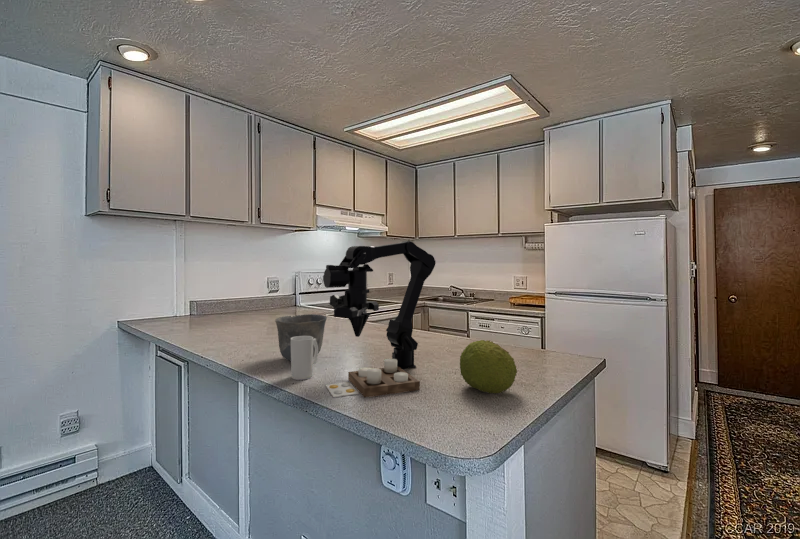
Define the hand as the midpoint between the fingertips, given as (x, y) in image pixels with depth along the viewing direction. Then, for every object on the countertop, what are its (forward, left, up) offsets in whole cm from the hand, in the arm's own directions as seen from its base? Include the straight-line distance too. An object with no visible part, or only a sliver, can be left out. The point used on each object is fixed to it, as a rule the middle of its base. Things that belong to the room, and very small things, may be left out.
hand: (357, 336), depth 122 cm
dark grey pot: (+13, -25, -12) cm, 31 cm away
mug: (+15, -5, -12) cm, 20 cm away
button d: (0, +16, -9) cm, 19 cm away
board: (-4, +12, -12) cm, 17 cm away
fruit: (-29, +27, -12) cm, 41 cm away
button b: (-8, +16, -11) cm, 21 cm away
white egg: (0, +8, -12) cm, 14 cm away
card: (+8, +12, -12) cm, 19 cm away
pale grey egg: (-8, +8, -10) cm, 15 cm away
